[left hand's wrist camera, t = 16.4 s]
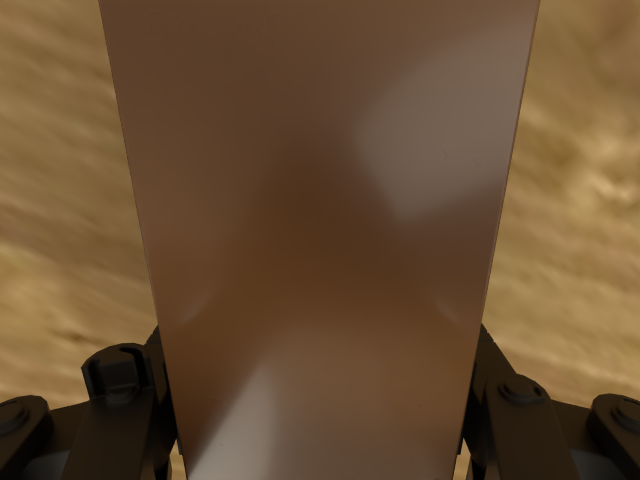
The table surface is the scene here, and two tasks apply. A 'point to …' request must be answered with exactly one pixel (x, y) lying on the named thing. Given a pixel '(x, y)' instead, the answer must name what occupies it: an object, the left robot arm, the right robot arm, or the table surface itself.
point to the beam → (319, 220)
